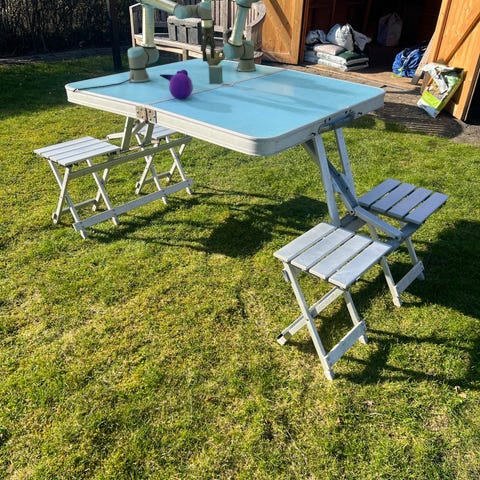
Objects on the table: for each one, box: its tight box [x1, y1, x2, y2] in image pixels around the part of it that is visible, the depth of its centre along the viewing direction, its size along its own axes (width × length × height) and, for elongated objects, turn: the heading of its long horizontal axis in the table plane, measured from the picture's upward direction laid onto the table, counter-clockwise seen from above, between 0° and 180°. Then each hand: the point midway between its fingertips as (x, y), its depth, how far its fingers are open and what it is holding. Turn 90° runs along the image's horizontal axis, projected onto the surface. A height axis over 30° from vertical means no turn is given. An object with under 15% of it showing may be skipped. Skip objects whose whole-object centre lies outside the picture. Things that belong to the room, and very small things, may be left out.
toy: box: [159, 69, 194, 100], centre depth 286 cm, size 16×18×27 cm
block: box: [208, 65, 223, 85], centre depth 326 cm, size 6×8×11 cm
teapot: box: [206, 48, 226, 67], centre depth 386 cm, size 21×12×15 cm, turn 120°
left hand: (208, 59), depth 319 cm, fingers open, 13 cm apart
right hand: (207, 34), depth 371 cm, fingers open, 13 cm apart
